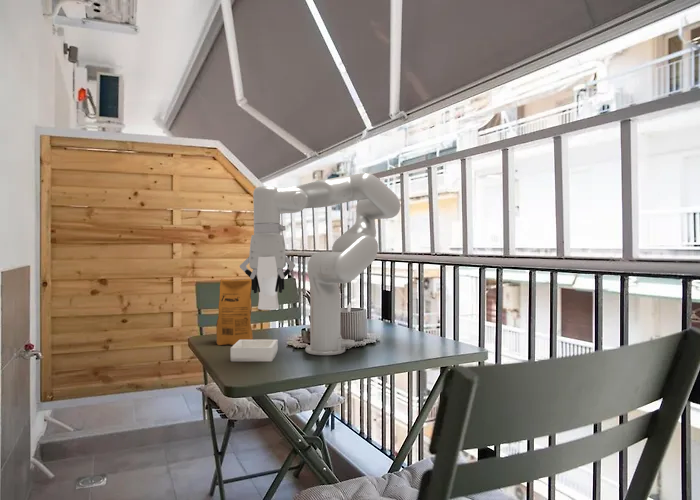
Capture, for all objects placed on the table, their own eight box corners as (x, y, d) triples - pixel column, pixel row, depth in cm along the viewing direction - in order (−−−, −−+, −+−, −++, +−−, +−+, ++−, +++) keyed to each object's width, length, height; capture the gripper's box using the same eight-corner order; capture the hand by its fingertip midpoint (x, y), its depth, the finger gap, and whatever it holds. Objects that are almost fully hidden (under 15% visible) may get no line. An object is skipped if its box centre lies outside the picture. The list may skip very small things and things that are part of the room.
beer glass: (251, 309, 139) (250, 256, 139) (263, 306, 146) (262, 255, 146) (273, 310, 137) (272, 256, 137) (284, 307, 144) (283, 255, 143)
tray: (277, 352, 155) (277, 339, 155) (271, 361, 143) (271, 347, 143) (239, 352, 155) (239, 339, 155) (230, 361, 143) (230, 347, 143)
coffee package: (219, 340, 174) (218, 278, 174) (254, 339, 175) (254, 278, 175) (213, 346, 165) (212, 280, 164) (250, 345, 165) (250, 280, 165)
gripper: (298, 230, 145) (299, 290, 146) (238, 230, 144) (239, 291, 145) (297, 229, 138) (297, 293, 138) (234, 230, 137) (235, 294, 137)
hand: (268, 291), depth 141 cm, fingers closed on beer glass, 6 cm apart
